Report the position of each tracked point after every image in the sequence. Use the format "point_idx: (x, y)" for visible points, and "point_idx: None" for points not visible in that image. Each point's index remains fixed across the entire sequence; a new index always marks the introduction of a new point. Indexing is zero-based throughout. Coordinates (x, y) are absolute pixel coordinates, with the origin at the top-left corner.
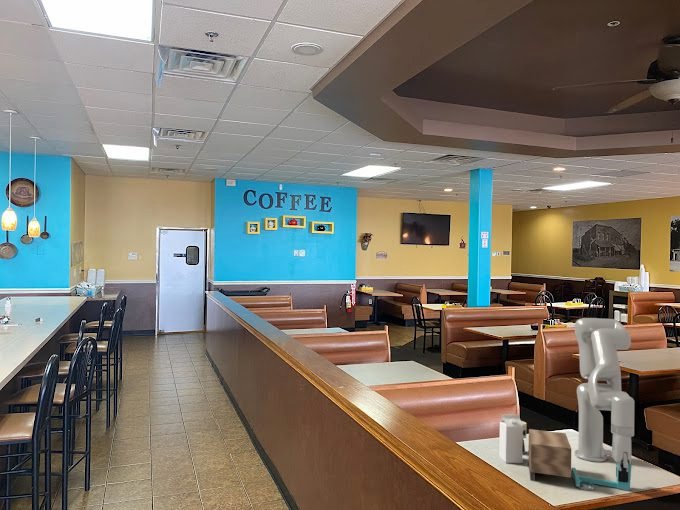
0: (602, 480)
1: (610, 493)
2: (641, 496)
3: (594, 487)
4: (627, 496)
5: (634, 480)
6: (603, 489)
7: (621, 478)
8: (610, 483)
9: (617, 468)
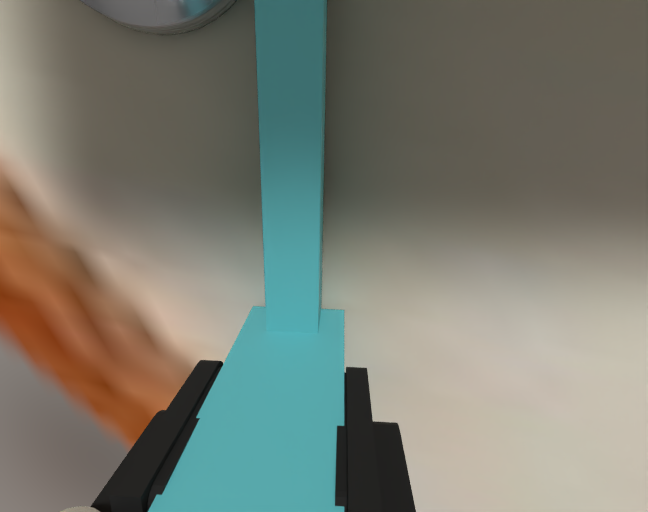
0: (280, 156)
1: (87, 202)
2: None
3: (105, 15)
4: (97, 350)
5: (569, 506)
6: (175, 145)
7: (150, 422)
8: (267, 252)
9: (295, 503)
